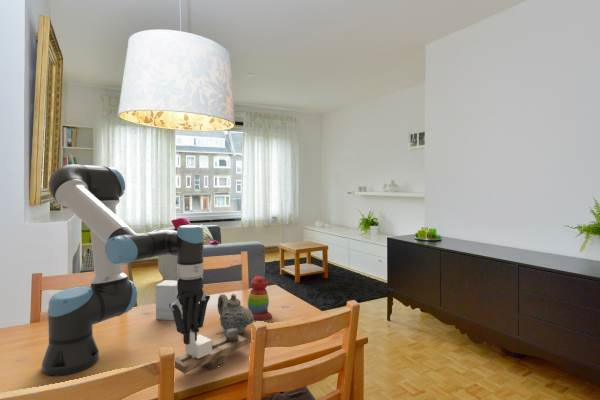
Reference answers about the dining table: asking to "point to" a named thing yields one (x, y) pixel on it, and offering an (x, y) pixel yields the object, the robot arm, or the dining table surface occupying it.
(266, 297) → the stacking bear
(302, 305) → the dining table surface
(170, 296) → the supplement box
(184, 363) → the beam
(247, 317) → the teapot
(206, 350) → the rider
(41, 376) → the dining table surface
